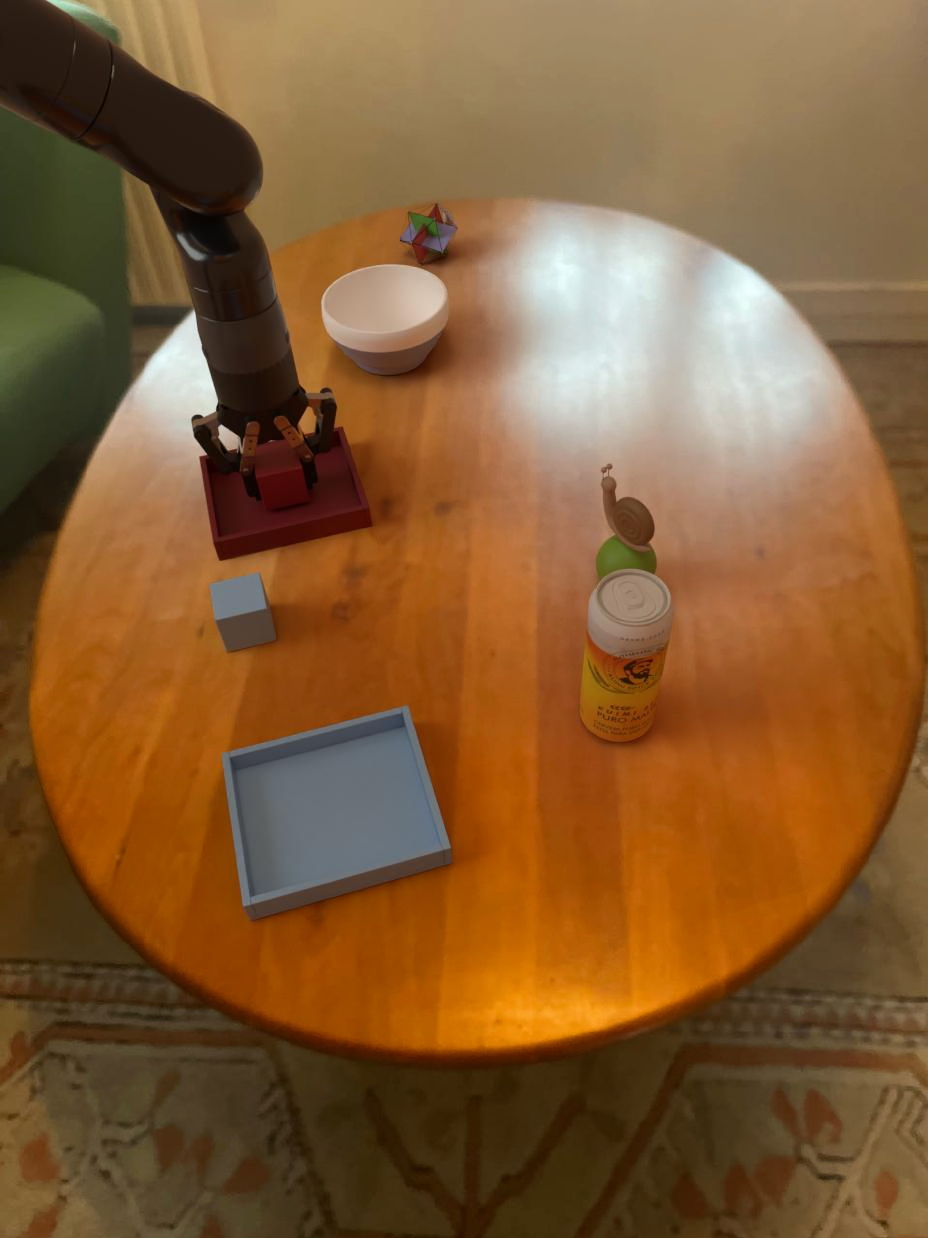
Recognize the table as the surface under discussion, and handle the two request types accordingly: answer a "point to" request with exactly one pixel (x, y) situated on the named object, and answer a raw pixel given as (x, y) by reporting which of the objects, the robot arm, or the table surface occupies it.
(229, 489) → the burgundy tray
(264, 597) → the blue block
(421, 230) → the geometric puzzle
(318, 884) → the blue tray
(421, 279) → the bowl
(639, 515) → the snail figurine
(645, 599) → the beer can
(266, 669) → the table surface
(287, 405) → the robot arm
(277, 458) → the burgundy block
